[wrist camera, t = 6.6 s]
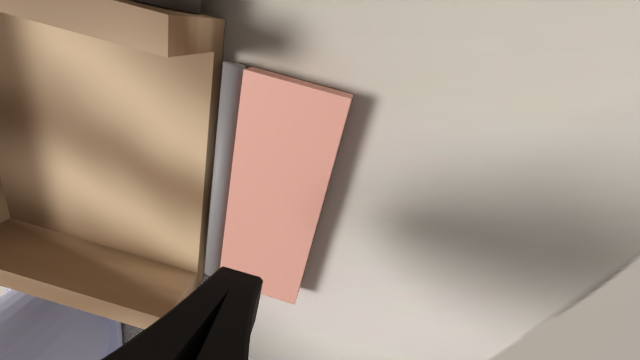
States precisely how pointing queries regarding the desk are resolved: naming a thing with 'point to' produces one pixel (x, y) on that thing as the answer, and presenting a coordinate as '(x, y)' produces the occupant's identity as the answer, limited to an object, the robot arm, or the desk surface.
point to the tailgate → (271, 174)
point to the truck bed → (107, 151)
